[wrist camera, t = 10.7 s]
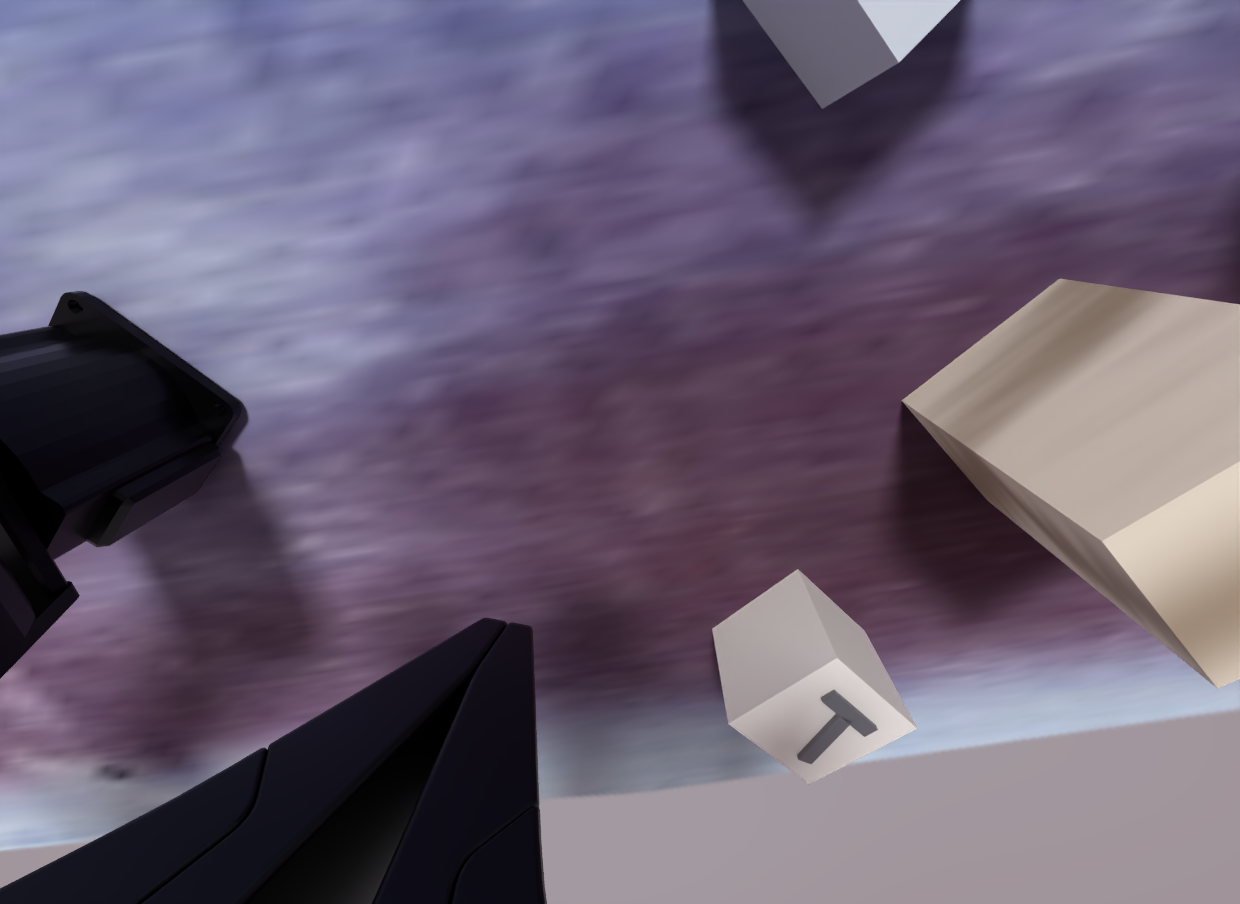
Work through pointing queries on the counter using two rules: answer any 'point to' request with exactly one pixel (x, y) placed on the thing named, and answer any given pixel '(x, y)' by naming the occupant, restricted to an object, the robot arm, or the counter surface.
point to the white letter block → (806, 681)
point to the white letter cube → (845, 37)
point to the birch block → (1113, 450)
